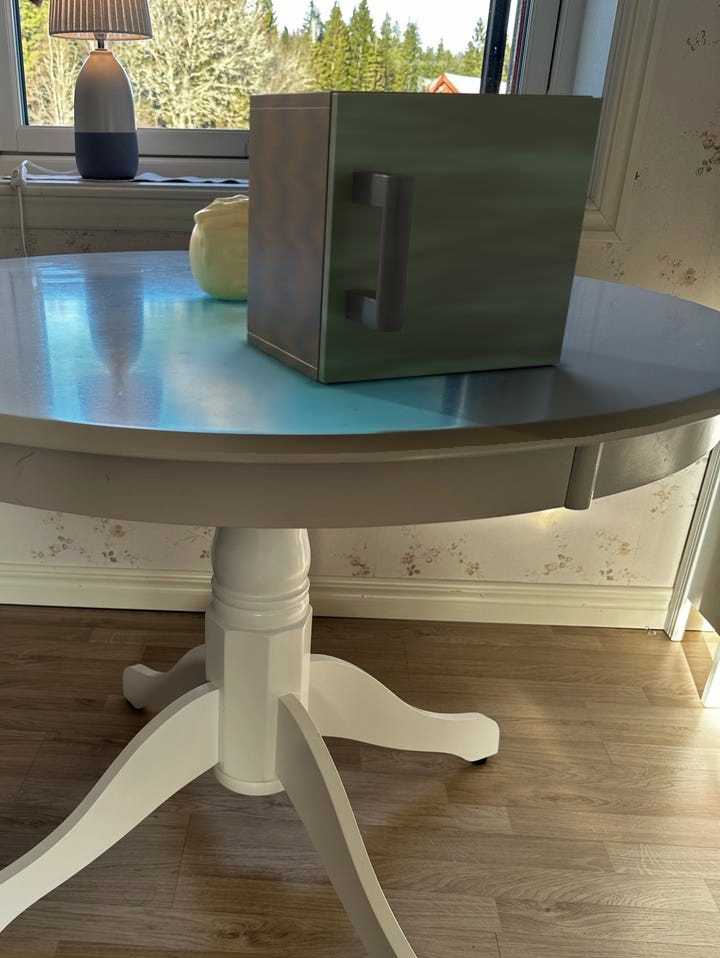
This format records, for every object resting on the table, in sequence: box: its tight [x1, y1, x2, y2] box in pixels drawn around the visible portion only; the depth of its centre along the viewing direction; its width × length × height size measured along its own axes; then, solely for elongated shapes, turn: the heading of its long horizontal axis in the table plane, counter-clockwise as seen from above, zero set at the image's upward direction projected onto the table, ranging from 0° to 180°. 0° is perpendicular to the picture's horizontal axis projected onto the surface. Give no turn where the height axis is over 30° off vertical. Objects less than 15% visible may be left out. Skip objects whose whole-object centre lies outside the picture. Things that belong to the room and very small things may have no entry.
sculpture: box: [188, 194, 249, 301], centre depth 109 cm, size 11×12×11 cm
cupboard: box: [246, 89, 594, 383], centre depth 81 cm, size 16×22×20 cm
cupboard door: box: [319, 93, 604, 384], centre depth 71 cm, size 7×22×20 cm, turn 110°
